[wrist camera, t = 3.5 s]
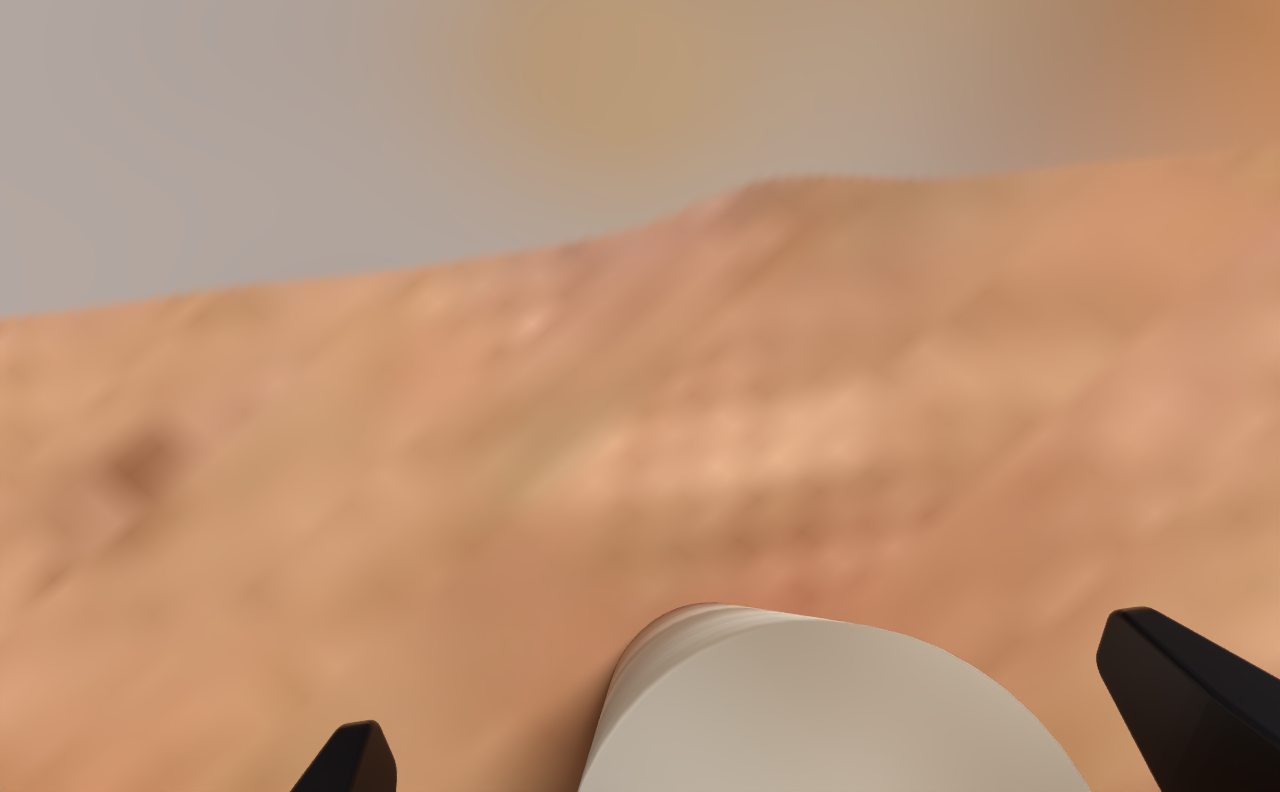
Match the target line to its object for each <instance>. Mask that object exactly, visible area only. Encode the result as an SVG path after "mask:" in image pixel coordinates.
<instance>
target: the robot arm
mask: <svg viewBox="0 0 1280 792" xmlns="http://www.w3.org/2000/svg"><path fill="white" fill-rule="evenodd" d="M1096 662H1097V667H1098V670H1099V673H1100V675H1101V677H1102V679H1103V681H1104V683H1105V685H1106V687H1107V689H1108V691H1109V693H1110V695H1111V697H1112V698H1113V700H1114V702H1115V704H1116V706H1117V708H1118V710H1119V712H1120V714H1121V716H1122V718H1123V720H1124V722H1125V723H1126V725H1127V727H1128V729H1129V731H1130V733H1131V735H1132V737H1133V739H1134V741H1135V743H1136V745H1137V747H1138V748H1139V750H1140V752H1141V754H1142V756H1143V758H1144V760H1145V762H1146V764H1147V766H1148V768H1149V770H1150V772H1151V773H1152V775H1153V777H1154V779H1155V781H1156V783H1157V784H1158V786H1159V788H1160V790H1161V792H1280V679H1278V678H1277V677H1275V676H1273V675H1271V674H1269V673H1268V672H1266V671H1264V670H1262V669H1260V668H1259V667H1257V666H1255V665H1253V664H1251V663H1250V662H1248V661H1246V660H1244V659H1242V658H1241V657H1239V656H1237V655H1235V654H1233V653H1232V652H1230V651H1228V650H1226V649H1224V648H1223V647H1221V646H1219V645H1217V644H1216V643H1214V642H1212V641H1210V640H1208V639H1207V638H1205V637H1203V636H1201V635H1199V634H1198V633H1196V632H1194V631H1192V630H1190V629H1189V628H1187V627H1185V626H1183V625H1181V624H1180V623H1178V622H1176V621H1174V620H1172V619H1171V618H1169V617H1167V616H1165V615H1164V614H1162V613H1160V612H1158V611H1156V610H1154V609H1152V608H1149V607H1132V608H1126V609H1119V610H1115V611H1113V612H1112V613H1111V614H1110V615H1109V617H1108V619H1107V622H1106V625H1105V628H1104V631H1103V634H1102V638H1101V641H1100V644H1099V647H1098V650H1097V654H1096ZM396 785H397V769H396V763H395V760H394V757H393V755H392V752H391V750H390V748H389V745H388V743H387V741H386V738H385V736H384V734H383V732H382V729H381V727H380V725H379V724H378V723H377V722H376V721H374V720H366V721H359V722H353V723H347V724H344V725H342V726H340V727H339V728H338V729H337V730H336V731H335V732H334V733H333V735H332V736H331V737H330V739H329V740H328V741H327V743H326V744H325V745H324V747H323V748H322V749H321V751H320V752H319V753H318V755H317V756H316V757H315V759H314V760H313V761H312V763H311V764H310V765H309V767H308V768H307V769H306V771H305V772H304V773H303V775H302V776H301V778H300V779H299V780H298V782H297V783H296V784H295V786H294V787H293V788H292V790H291V791H290V792H396Z"/></svg>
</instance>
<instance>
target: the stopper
mask: <svg viewBox="0 0 1280 792" xmlns="http://www.w3.org/2000/svg"><path fill="white" fill-rule="evenodd" d="M577 792H1091V791H1090V789H1089V787H1088V785H1087V783H1086V782H1085V780H1084V779H1083V777H1082V776H1081V774H1080V773H1079V771H1078V770H1077V768H1076V767H1075V765H1074V764H1073V763H1072V761H1071V760H1070V758H1069V757H1068V755H1067V754H1066V752H1065V751H1064V749H1063V748H1062V747H1061V745H1060V744H1059V743H1058V742H1057V741H1056V740H1055V739H1054V737H1053V736H1052V735H1051V734H1050V733H1049V732H1048V730H1047V729H1046V728H1045V727H1044V726H1043V725H1042V724H1041V722H1040V721H1039V720H1038V719H1037V718H1036V717H1035V716H1034V715H1033V714H1032V713H1031V712H1030V711H1029V710H1028V709H1027V708H1026V707H1025V706H1023V705H1022V704H1021V703H1020V702H1019V701H1018V700H1017V699H1016V698H1015V697H1014V696H1013V695H1011V694H1010V693H1009V692H1008V691H1007V690H1006V689H1005V688H1003V687H1002V686H1000V685H999V684H998V683H996V682H995V681H994V680H992V679H991V678H989V677H988V676H987V675H985V674H984V673H982V672H981V671H980V670H978V669H977V668H975V667H974V666H972V665H970V664H968V663H967V662H965V661H963V660H961V659H959V658H958V657H956V656H954V655H952V654H950V653H948V652H947V651H945V650H943V649H941V648H938V647H936V646H933V645H931V644H928V643H926V642H923V641H921V640H918V639H916V638H913V637H911V636H908V635H904V634H900V633H897V632H893V631H889V630H885V629H881V628H877V627H873V626H866V625H860V624H854V623H847V622H841V621H834V620H828V619H821V618H815V617H809V616H802V615H796V614H789V613H783V612H777V611H770V610H764V609H757V608H751V607H744V606H738V605H732V604H724V603H698V604H691V605H687V606H683V607H680V608H677V609H674V610H672V611H670V612H668V613H665V614H663V615H662V616H660V617H659V618H657V619H655V620H654V621H652V622H651V623H650V624H649V625H647V626H646V627H645V628H644V629H643V630H641V631H640V632H639V634H638V635H637V636H636V637H635V638H634V639H633V640H632V641H631V643H630V644H629V646H628V647H627V648H626V650H625V651H624V653H623V655H622V656H621V658H620V660H619V662H618V664H617V666H616V669H615V671H614V674H613V677H612V679H611V683H610V686H609V689H608V693H607V696H606V699H605V703H604V706H603V709H602V712H601V716H600V719H599V722H598V726H597V729H596V732H595V735H594V739H593V742H592V745H591V749H590V752H589V755H588V758H587V762H586V765H585V768H584V772H583V775H582V778H581V782H580V785H579V788H578V791H577Z"/></svg>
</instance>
